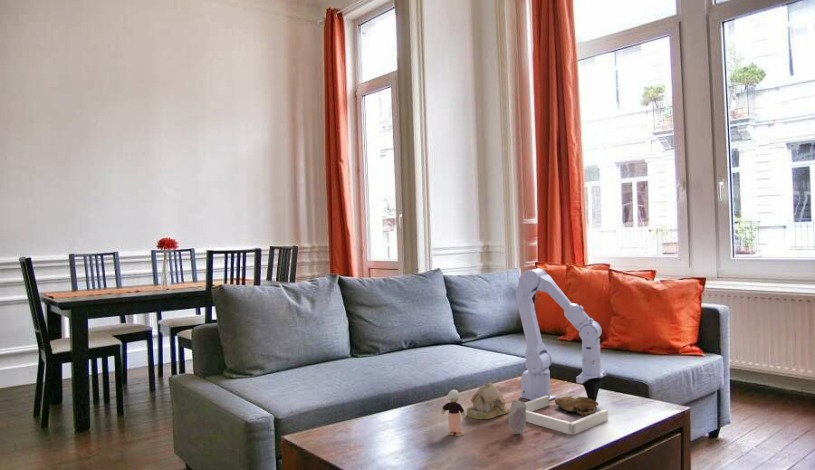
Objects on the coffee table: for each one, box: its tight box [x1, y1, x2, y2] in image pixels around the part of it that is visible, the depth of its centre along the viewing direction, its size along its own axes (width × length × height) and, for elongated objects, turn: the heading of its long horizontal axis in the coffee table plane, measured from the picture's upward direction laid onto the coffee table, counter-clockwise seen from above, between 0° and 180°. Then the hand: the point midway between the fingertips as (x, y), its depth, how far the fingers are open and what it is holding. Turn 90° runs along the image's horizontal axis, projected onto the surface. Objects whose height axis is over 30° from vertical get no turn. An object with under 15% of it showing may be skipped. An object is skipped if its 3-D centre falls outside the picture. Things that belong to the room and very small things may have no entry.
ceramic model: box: [465, 381, 509, 420], centre depth 190 cm, size 14×11×10 cm
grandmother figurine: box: [440, 389, 467, 437], centre depth 172 cm, size 8×4×13 cm, turn 71°
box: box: [509, 396, 609, 436], centre depth 183 cm, size 22×18×3 cm
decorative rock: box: [554, 395, 599, 417], centre depth 190 cm, size 11×4×15 cm
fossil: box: [507, 399, 527, 435], centre depth 170 cm, size 6×4×10 cm, turn 117°
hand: (592, 401), depth 195 cm, fingers closed
